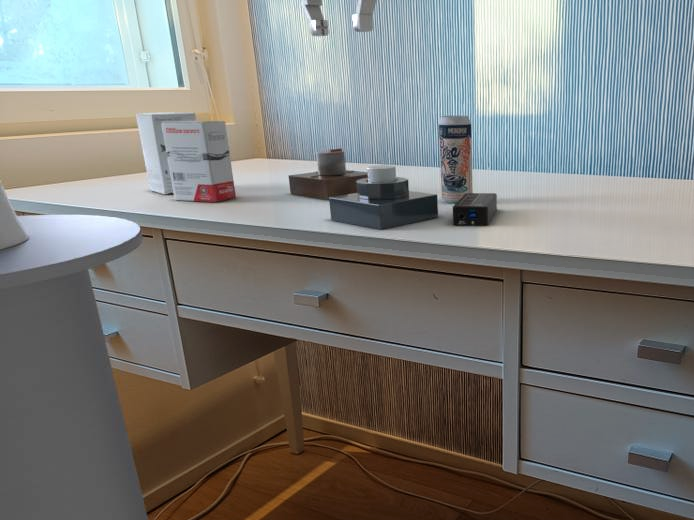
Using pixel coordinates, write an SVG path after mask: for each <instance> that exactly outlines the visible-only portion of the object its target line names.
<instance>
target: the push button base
mask: <svg viewBox="0 0 694 520" xmlns="http://www.w3.org/2000/svg"><path fill="white" fill-rule="evenodd" d="M356 186H357V193H353V194H347V195H340V196H334V197H329V200H328V201H329V202H328V203H329V211H330V212H329V213H330V220H331V221H334V222H338V223H344V224H350V225H355V226H360V227H365V228H369V229H370V228H372V229H376V230H386V229H389V228H395V227H399V226H404V225H408V224H413V223H418V222H423V221H427V220H432V219H437V218H439V203H438V194H436V193H429V192H420V191H414V190H410V188H409V187H410V186H409V179H408V178H406V177H403V176H401V177H400V176H396V181H392V182H368V178H365V179H360V180H357V181H356Z"/></svg>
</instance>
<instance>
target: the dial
mask: <svg viewBox="0 0 694 520" xmlns="http://www.w3.org/2000/svg"><path fill="white" fill-rule="evenodd" d="M315 154H316V163H317V171H318V174H319V175H323V176H334V175H343V174H346V170H347V168H346V156H345V151H344V150H343V148H330V149H328V150H319V151H318V150H317V151H316V153H315Z"/></svg>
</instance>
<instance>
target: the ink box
mask: <svg viewBox="0 0 694 520" xmlns="http://www.w3.org/2000/svg"><path fill="white" fill-rule="evenodd" d="M161 125H162V131H163V136H164V142H165V148H166V153H167V159H168V165H169V170H170V176H171V182H172V187H173V193H172V194H173V198H174V200H175V201H187V202H205V203H218V202H222V201H226V200H231V199H236V198H237V194H236V188H235V180H234V174H233V168H232V160H231V154H230V146H229V140H228V132H227V126H226V121H223V120H196V121H163V123H161Z"/></svg>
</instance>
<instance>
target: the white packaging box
mask: <svg viewBox="0 0 694 520" xmlns="http://www.w3.org/2000/svg"><path fill="white" fill-rule="evenodd" d="M135 118H136V122H137V123H136V124H137V129H138V133H139V138H140V144H141V149H142V154H143V160H144V164H145V170H146V176H147V181H148V184H149V191H152V192H156V193H158V194H163V195H169V194H174V193H173V187H172V182H171V176H170V170H169V165H168V159H167V153H166V148H165V142H164V136H163V131H162V125H161V123H163V121H197V116H196V112H186V111H185V112H184V111H183V112H182V111H181V112H180V111H168V112H167V111H166V112H165V111H164V112H162V111H161V112H139V113H136V114H135Z"/></svg>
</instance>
